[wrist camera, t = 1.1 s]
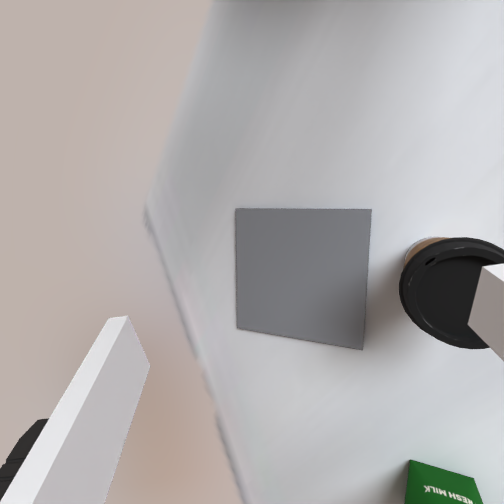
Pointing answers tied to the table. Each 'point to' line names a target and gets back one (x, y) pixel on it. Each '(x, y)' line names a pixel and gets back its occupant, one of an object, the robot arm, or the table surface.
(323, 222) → the mat
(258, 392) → the table surface
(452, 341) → the coffee cup
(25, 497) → the robot arm
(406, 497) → the milk carton
